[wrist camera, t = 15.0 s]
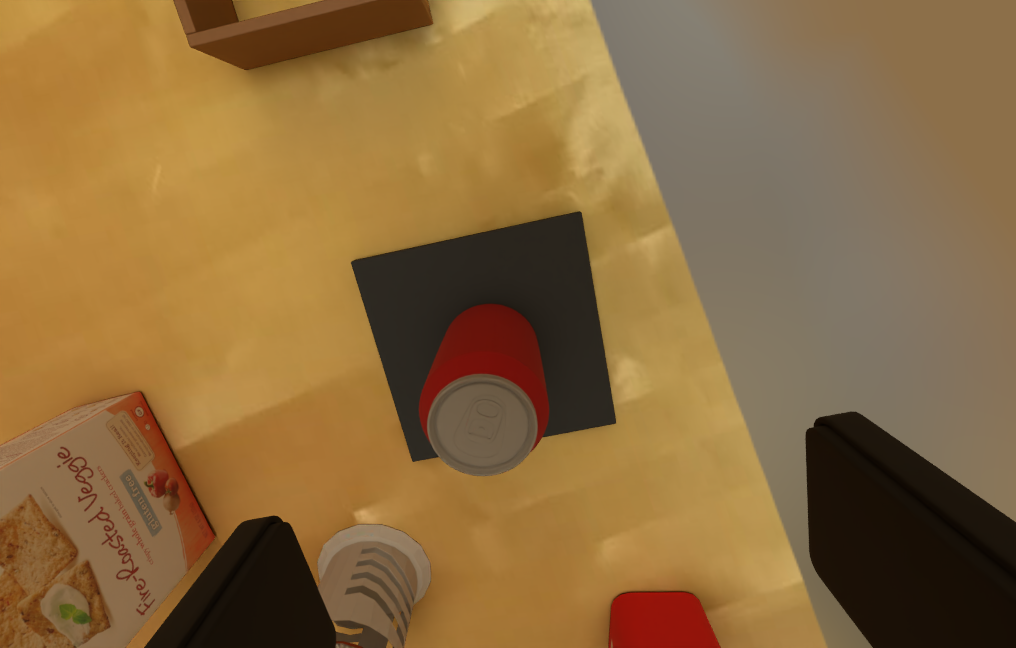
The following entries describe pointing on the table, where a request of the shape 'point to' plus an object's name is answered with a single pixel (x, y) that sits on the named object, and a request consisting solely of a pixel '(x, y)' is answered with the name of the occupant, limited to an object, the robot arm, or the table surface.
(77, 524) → the cracker box
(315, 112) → the table surface
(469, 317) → the beverage can
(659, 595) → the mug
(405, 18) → the open box
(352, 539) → the french press
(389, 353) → the mat
